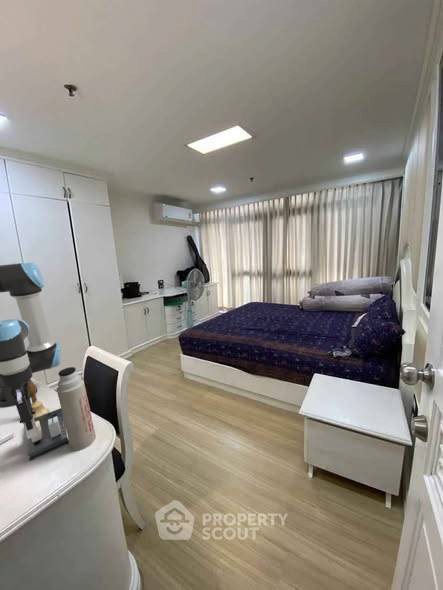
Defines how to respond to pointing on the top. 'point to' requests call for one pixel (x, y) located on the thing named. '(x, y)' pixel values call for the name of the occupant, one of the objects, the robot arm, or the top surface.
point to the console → (48, 435)
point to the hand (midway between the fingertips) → (32, 435)
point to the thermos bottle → (75, 409)
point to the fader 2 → (54, 427)
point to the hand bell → (36, 402)
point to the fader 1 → (39, 436)
